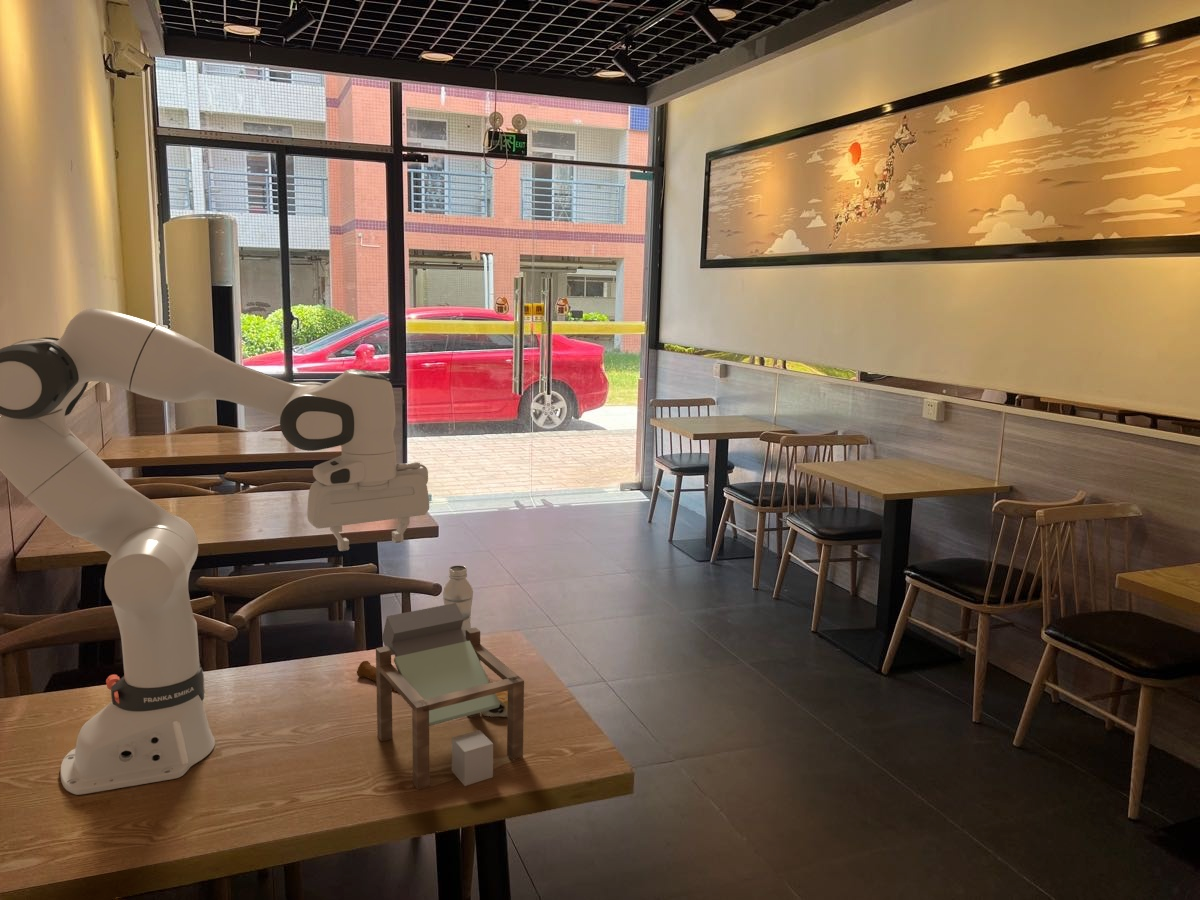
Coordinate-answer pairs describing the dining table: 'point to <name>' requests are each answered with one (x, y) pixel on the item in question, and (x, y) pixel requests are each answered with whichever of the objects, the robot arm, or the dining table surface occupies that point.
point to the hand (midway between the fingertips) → (371, 545)
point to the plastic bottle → (459, 593)
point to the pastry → (503, 707)
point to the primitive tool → (368, 671)
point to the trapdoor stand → (446, 704)
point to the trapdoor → (437, 658)
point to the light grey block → (472, 757)
